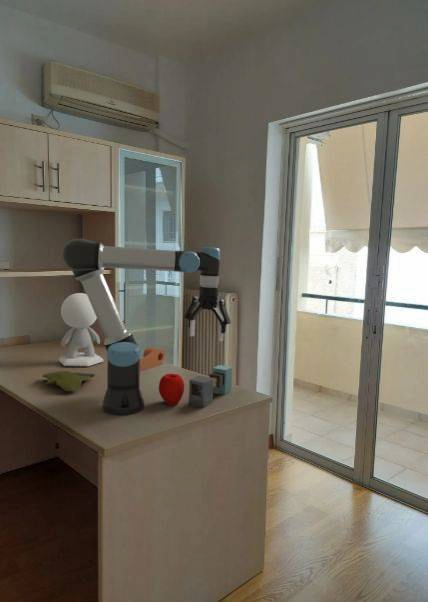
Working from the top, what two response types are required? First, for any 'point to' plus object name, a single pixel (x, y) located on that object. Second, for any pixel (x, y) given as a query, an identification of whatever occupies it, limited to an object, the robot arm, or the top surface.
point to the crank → (151, 358)
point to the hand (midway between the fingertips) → (206, 338)
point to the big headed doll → (79, 331)
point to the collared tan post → (216, 380)
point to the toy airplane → (67, 379)
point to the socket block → (227, 379)
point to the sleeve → (198, 396)
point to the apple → (171, 388)
